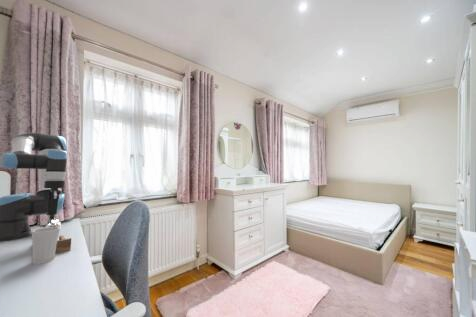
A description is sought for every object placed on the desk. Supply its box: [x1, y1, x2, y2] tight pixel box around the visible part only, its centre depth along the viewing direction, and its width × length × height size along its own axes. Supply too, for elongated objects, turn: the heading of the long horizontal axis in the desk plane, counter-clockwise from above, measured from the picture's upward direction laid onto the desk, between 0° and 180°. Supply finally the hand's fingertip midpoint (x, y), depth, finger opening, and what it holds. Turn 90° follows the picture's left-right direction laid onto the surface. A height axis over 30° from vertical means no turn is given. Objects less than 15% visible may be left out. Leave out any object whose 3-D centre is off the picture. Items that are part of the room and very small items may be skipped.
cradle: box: [55, 234, 72, 255], centre depth 91 cm, size 22×10×5 cm, turn 50°
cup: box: [31, 227, 61, 265], centre depth 77 cm, size 8×8×12 cm
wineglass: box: [44, 218, 62, 232], centre depth 94 cm, size 6×6×12 cm
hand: (50, 227), depth 96 cm, fingers closed
